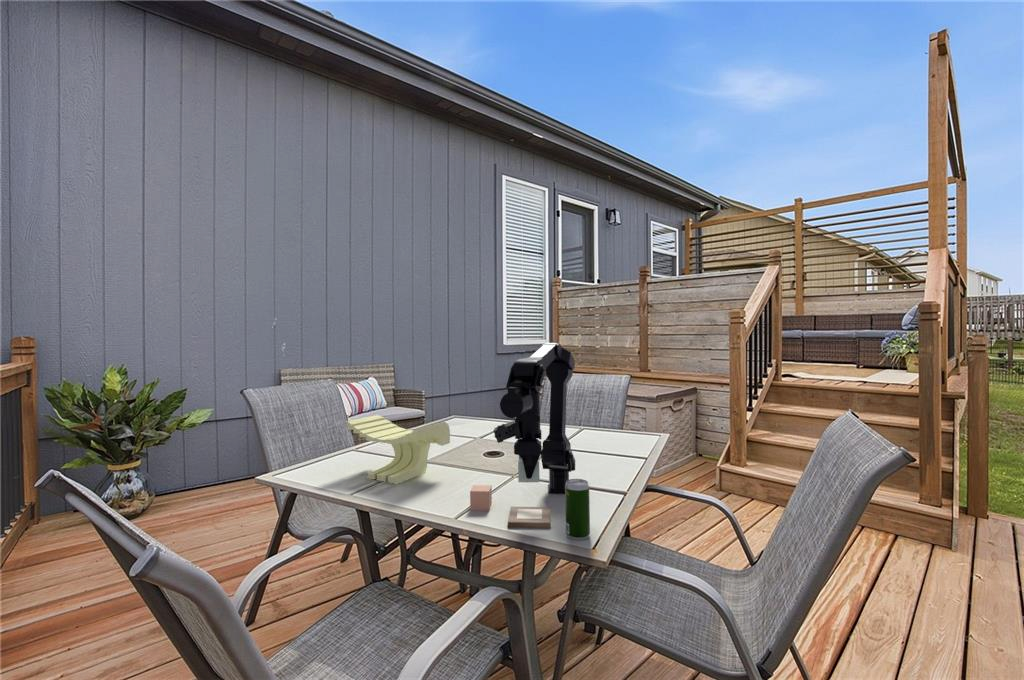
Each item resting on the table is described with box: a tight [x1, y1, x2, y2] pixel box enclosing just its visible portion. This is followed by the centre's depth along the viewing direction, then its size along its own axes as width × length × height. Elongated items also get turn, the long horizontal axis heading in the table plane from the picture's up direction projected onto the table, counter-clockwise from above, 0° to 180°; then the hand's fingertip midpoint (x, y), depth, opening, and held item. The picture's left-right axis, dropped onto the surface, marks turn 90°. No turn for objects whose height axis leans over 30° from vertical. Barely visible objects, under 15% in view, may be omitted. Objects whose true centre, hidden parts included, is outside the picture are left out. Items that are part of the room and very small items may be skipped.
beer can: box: [564, 478, 591, 541], centre depth 102 cm, size 5×5×12 cm
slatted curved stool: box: [347, 414, 451, 485], centre depth 151 cm, size 30×16×18 cm, turn 60°
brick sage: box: [517, 455, 540, 483], centre depth 112 cm, size 5×5×5 cm
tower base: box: [507, 506, 551, 529], centre depth 112 cm, size 10×10×1 cm
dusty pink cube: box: [469, 484, 493, 511], centre depth 121 cm, size 5×5×5 cm
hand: (529, 475), depth 112 cm, fingers closed on brick sage, 5 cm apart
